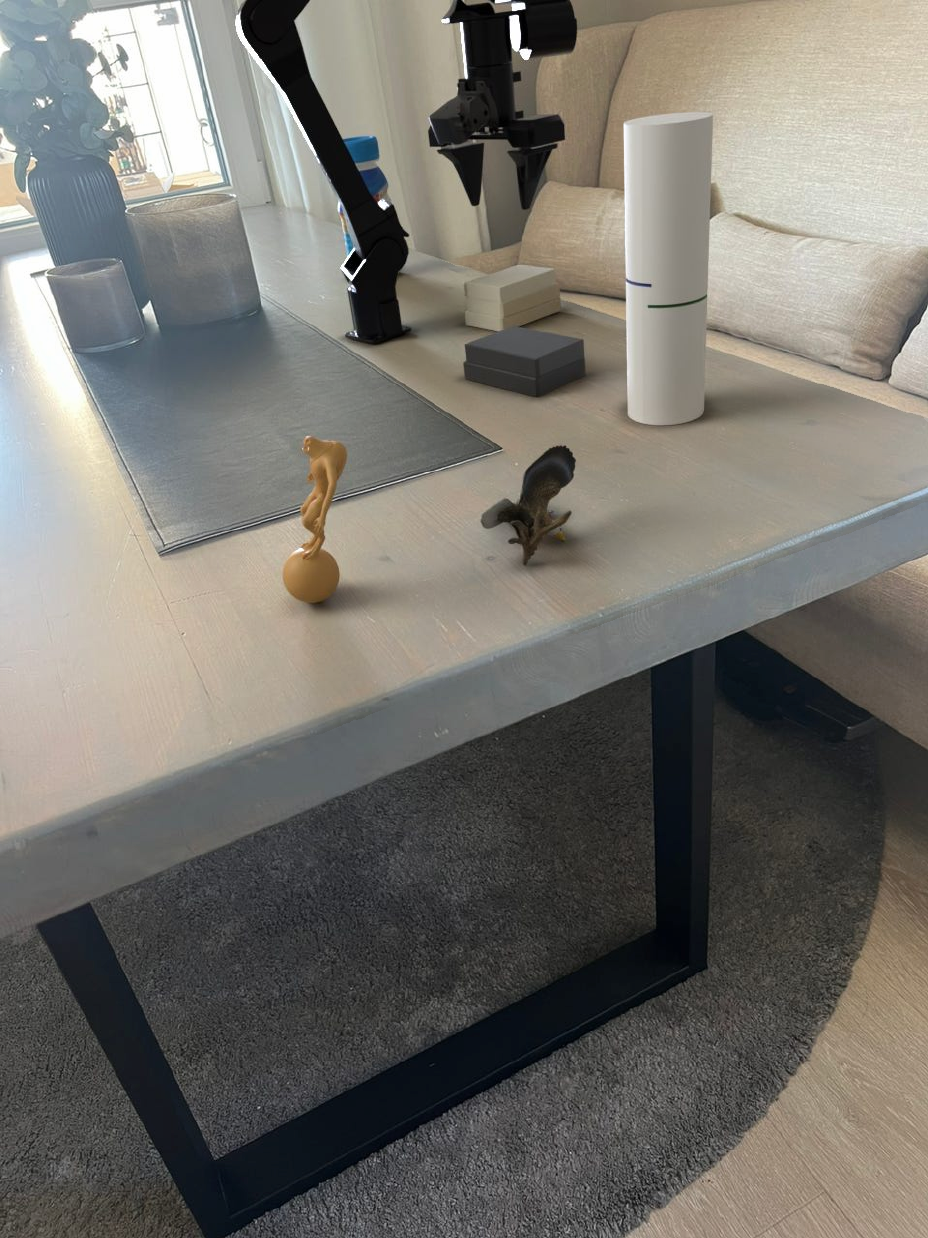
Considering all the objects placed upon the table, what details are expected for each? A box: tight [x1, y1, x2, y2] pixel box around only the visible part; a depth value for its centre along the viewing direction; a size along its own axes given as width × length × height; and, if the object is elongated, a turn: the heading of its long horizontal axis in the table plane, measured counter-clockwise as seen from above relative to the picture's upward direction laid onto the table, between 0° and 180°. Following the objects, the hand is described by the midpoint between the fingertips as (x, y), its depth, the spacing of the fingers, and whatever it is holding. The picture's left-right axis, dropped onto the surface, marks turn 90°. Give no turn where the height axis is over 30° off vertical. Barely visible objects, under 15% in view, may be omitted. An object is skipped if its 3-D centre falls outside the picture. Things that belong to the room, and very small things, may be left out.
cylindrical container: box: [623, 111, 714, 426], centre depth 83 cm, size 7×7×25 cm
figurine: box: [282, 435, 348, 604], centre depth 64 cm, size 8×6×12 cm
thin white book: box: [463, 263, 557, 303], centre depth 120 cm, size 10×7×2 cm, turn 132°
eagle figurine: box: [479, 444, 577, 566], centre depth 70 cm, size 8×7×9 cm
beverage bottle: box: [337, 135, 393, 258], centre depth 147 cm, size 8×8×20 cm
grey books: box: [462, 326, 586, 398], centre depth 101 cm, size 11×8×4 cm
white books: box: [464, 282, 562, 332], centre depth 122 cm, size 11×7×4 cm
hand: (500, 207), depth 119 cm, fingers open, 9 cm apart
